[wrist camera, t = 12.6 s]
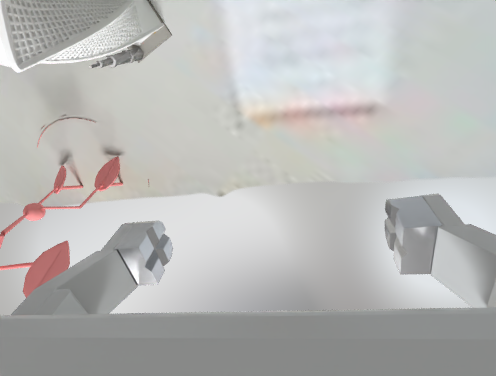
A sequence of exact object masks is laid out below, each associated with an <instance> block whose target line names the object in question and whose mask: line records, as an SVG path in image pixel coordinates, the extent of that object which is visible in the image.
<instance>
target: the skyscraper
mask: <svg viewBox="0 0 496 376" xmlns="http://www.w3.org/2000/svg"><path fill="white" fill-rule="evenodd" d="M171 36H172V35H171V33H170V32H169V30H168V29H167V27H166V26H165V24H164V23H163V21H162V20H161V18H160V17H159V15H158V14H157V12H156V11H155V9H154V8H153V6H152V5H151V3H150V2H149V0H0V65H3V66H7V67H11V68H13V70H14V71H16V72H18V73H20V72H22V71H24V70H26V69H28V68H30V67H33V66H35V65H37V64H39V63H46V64H55V63H72V62H80V61H86V60H91V59H95V58H99V57H103V56H106V55H109V54H112V53H115V52H117V51H120V50H122V49H124V48H126V47H127V48H128V49H129V50H127V51H122V52H121V53H118V54H115V55H110V56H106V58H105V60H102V61H96V64H93V65H89V68H94V67H98V68H102V67H104V66H109V67H116V66H117V65H120V64H124V63H132V62H133V61H138V63H139V62H140V61H142V60H143V59H144V58H145V57H146V56H148V55H149V54H150V53H151V52H152V51H154V50H155V49H156V48H157V47H158V46H160V45H161V44H162V43H163V42H164V41H166V40H167V39H168V38H169V37H171Z"/></svg>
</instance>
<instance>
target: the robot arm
mask: <svg viewBox="0 0 496 376" xmlns="http://www.w3.org/2000/svg"><path fill="white" fill-rule="evenodd" d="M385 211H386V213H387V215H388V218H387V219H386V220H385V234H386V239H387V243H388V246H389V248H390V249H391V250H393V251H394V261H395V263H396V265H397V268H398V270H399V273H400V274H431V276H432V277H434V278H435V279H436V280H438V281H439V282H440V283H442V284H443V285H444V286H445V287H447V288H448V289H449V290H450V291H452V292H453V293H454V294H456V295H457V296H458V297H459V298H461V299H462V300H463V301H465V302H466V303H467V304H468V305H470V306H471V307H472V308H433V309H432V308H430V309H384V310H383V309H380V310H311V311H250V312H249V311H248V312H191V313H190V312H189V313H135V314H134V313H131V314H129V313H128V314H109V313H110V312H111V311H112V310H113V309H115V308H116V307H117V306H118V305H119V304H120V303H121V302H122V301H123V300H124V299H125V298H126V297H127V296H128V295H129V294H130V293H131V292H132V291H134V290H135V289H136V288H137V286H139V285H154V284H158V283H159V281H160V279H161V277H162V275H163V273H164V271H165V270H164V267H163V266H164V265H165V264H167V263H168V262H169V261H170V259H171V256H172V249H173V248H172V243H171V240H170V238H169V237H167V236H166V235H165V234H164V232H165V227H164V225H163V223H162V222H160V221H148V222H136V223H135V222H133V223H125V224H122V225H121V227H120V228H119V229H118V230H117V231H116V233H115V234H114V235H113V236H112V238H111V239H110V240H109V241H108V242H107V244H106V245H105V246H104V248H103V249H102V250H101V251H97V252H95V253H93V254H92V255H90V256H88V257H87V258H85V259H83V260H82V261H80V262H78V263H77V264H75V265H74V266H72V267H70V268H69V269H67V270H65V271H64V272H62V273H60V274H59V275H57V276H55V277H54V278H52V279H51V280H49V281H47V282H46V283H44V284H42V285H41V286H39V287H37V288H36V289H34V290H33V291H32V293H31V294H30V295H29V296H28V297H27V298H26V299H25V300H24V301H23V302H22V303H21V304H20V305H19V306H18V308H17V309H16V310H15V311H14V312H13V313H12V314H11V315H3V316H0V376H496V235H495V234H492V233H490V232H488V231H485V230H483V229H481V228H478V227H476V226H474V225H471V224H468V225H465V224H464V223H463V222H462V220H461V219H460V218H459V217H458V216H457V214H456V213H455V212H454V211H453V209H452V208H451V207H450V206H449V205H448V203H447V202H446V201H445V200H444V199H443V197H442V196H441V195H439V194H430V195H422V196H417V197H407V198H398V199H388V200H386V204H385Z"/></svg>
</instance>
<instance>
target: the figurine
mask: <svg viewBox="0 0 496 376" xmlns="http://www.w3.org/2000/svg"><path fill="white" fill-rule="evenodd" d="M62 117H63V116H62ZM67 119H68V118H67ZM78 119H81V118H78ZM62 120H63V119H62ZM86 120H87V119H86ZM89 121H91V120H89ZM93 122H94V121H93ZM43 127H44V126H43ZM48 127H49V126H48ZM44 131H45V130H44ZM41 135H42V134H41ZM40 137H41V136H40ZM39 140H40V139H39ZM38 144H39V141H38ZM37 147H38V146H37ZM119 170H120V163H119V157H115V158H113V159H112V160H110V161H109V162H108V163H106V164H105V165H104V166H103V167H102V168H101V169H100V171H99V172H98V174H97V176H96V180H95V187H96V189H95V190H94V191H93V192H92V193H91V194H90V196H89V197H88V198H87V199H86V200H85V201H84V202H83V203H82V204H81V205H80V206H75V207H43V206H42V205H41V203H42V202H43V201H44V200H45V199H47V198H48V197H49V196H50V195H51V194H52V193H53V192H54V193H56V194H58V193H59V192H60V191H61V190H63V189H76V188H83V186H82V185H80V186H65V187H63V184H64V181H65V178H66V169H65V167H64V166H61V168H60V170H59V172H58V175H57V177H56V180H55V183H54V190H52V191H51V192H50V193H49V194H48V195H47V196H46V197H45V198H44V199H42V200H41V201H40V202H39V203H32V204H29V205H27V206H25V208H24V210H23V214H24V215H23V216H22V217H20V218H19V219H18V220H16V221H15V222H14V223H12V224H11V225H10V226H8V227H7V228H6V229H5V230H3V231H2V232H1V234H0V248H1V245H2V242H3V239H4V236H5V234H6V233H8V232H9V231H10V230H11V229H12V228H13V227H15V226H16V225H17V224H18V223H19V222H20V221H22V220H23V219H24V218H27V219H28V220H31V221H35V220H39V219H41V218H42V217H44V215H45V209H76V208H77V209H79V208H82V207H83V205H84V204H85V203H86V202H87V201H88V200H89V199H90V198H91V197H92V196H93V194H94V193H95V192H96V191H97V190H99V191H103V190H106V189H107V188H108V187H110V186H120V185H123V183H114V181H115V180H116V178H117V176H118V173H119ZM148 183H149V180H148ZM69 264H70V256H69V244H68V241H65V242H63V243H60V244H58V245H56V246H54V247H52V248H50V249H48V250H47V251H45V252H43V253H42V254H41V255H40V256H39V257H38V258H37V259H36V260H35V261H34V262H33V263H23V264H15V265H8V266H0V270H5V269H14V268H23V267H30V269H29V271H28V273H27V275H26V277H25V283H24V288H23V292H24V294H25V296H26V298H27V297H28V296H29V295H30V294H31V293H32V291H33V290H34V289H36V288H37V287H39V286H41V285H42V284H44V283H46V282H47V281H49V280H51V279H52V278H54V277H55V276H57V275H59V274H60V273H62V272H64V271H65V270H67V269H68V267H69Z"/></svg>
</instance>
